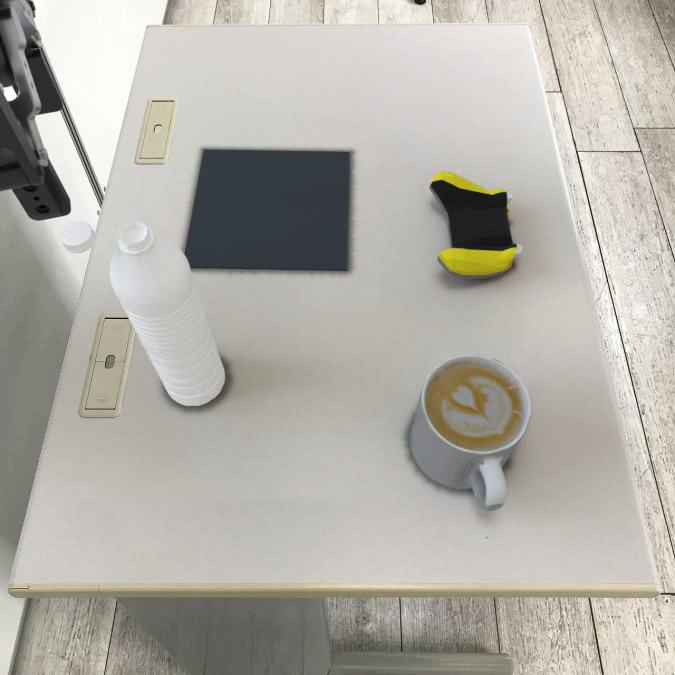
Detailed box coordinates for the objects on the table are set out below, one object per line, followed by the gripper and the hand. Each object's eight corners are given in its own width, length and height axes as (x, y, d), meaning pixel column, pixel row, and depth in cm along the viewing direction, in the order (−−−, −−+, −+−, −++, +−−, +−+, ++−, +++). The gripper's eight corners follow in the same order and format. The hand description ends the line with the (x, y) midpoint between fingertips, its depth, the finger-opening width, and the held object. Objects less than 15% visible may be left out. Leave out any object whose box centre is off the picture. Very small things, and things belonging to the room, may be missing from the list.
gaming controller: (434, 291, 76) (518, 290, 76) (441, 263, 71) (530, 262, 71) (424, 196, 83) (501, 195, 83) (429, 165, 78) (511, 164, 78)
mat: (182, 267, 77) (181, 266, 77) (203, 150, 88) (203, 149, 87) (346, 270, 77) (347, 269, 77) (349, 152, 87) (349, 151, 87)
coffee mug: (407, 398, 68) (417, 353, 60) (499, 398, 68) (522, 353, 60) (415, 524, 62) (428, 494, 53) (518, 523, 62) (547, 493, 53)
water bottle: (227, 353, 71) (179, 197, 50) (224, 406, 68) (171, 264, 47) (149, 355, 71) (67, 200, 50) (141, 409, 68) (50, 267, 46)
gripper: (-212, -248, 26) (-17, 91, 40) (-289, -62, 19) (-20, 269, 33) (-18, -267, 27) (105, 70, 41) (-22, -97, 20) (128, 239, 34)
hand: (49, 159), depth 37 cm, fingers open, 8 cm apart
